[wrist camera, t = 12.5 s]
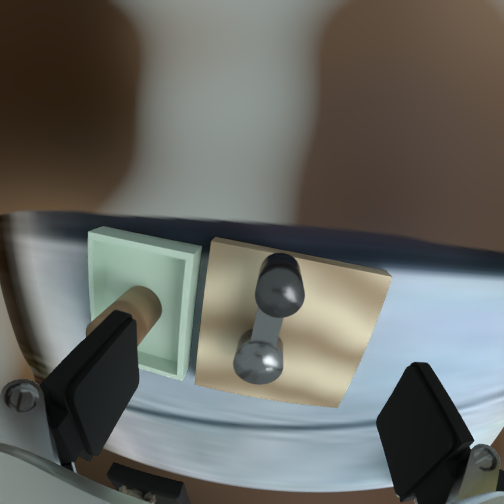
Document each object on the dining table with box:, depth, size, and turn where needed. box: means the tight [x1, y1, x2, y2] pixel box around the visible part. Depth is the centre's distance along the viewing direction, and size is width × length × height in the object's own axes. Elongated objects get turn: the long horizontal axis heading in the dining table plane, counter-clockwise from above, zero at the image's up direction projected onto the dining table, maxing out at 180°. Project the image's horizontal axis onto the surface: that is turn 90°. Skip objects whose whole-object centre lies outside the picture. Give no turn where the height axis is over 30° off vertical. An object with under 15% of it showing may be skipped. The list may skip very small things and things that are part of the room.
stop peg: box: [86, 286, 162, 347], centre depth 22 cm, size 4×4×7 cm
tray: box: [88, 226, 202, 381], centre depth 25 cm, size 13×10×2 cm
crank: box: [233, 253, 305, 385], centre depth 20 cm, size 11×4×6 cm, turn 170°
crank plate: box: [195, 237, 392, 408], centre depth 25 cm, size 15×15×2 cm
